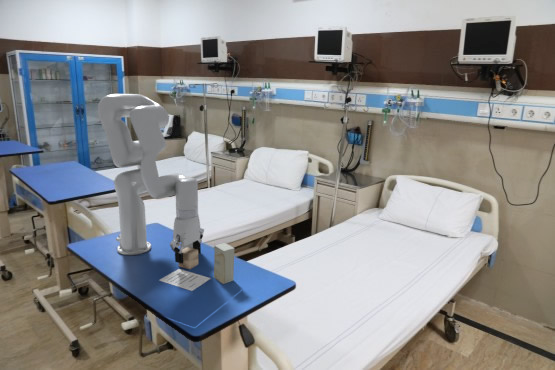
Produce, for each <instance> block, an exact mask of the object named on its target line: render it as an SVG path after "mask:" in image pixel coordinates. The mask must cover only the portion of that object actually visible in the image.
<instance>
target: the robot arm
mask: <svg viewBox="0 0 555 370" xmlns="http://www.w3.org/2000/svg"><path fill="white" fill-rule="evenodd" d="M97 106H98V107H97V113H98V114H97V115H98V118H99V121H100V123H101V126H102V128H103V131H104V133H105V136H106V140H107V141H106V142H107V144H108V149H109V151H110V152H109V153H110V156H111V159H112V162H113V165H114V166H116V167H117V168H118V169H125V168H131V167H137V169H132V170H126V171H123V172H121V173H118V174H117V175H116V176H115V178H114V181H113V185H114V190H115V192H116V197H117V204H118V205H117V206H118V215H119V216H118V217H119V229H120V232H119V233H120V234H119V235H118V236H117V237H115V241H117V242H119V245H118V246H117V252H118V254H121V255H125V256H135V255H140V254H144V253H147V252H148V251H150V250H151V248H152V244H151V242H149V241H147V240H148V239H147V221H146V220H147V219H146V206H145V202H144V200H143V199H142V198H141V195H140V194H144V193H148V194H149V196H150V197H151V198H153V199H155V200H162V199H165V198H169V197H171V196H172V197H173V196H175V212H176V213H175V215H176V217H175V218H174V222H173V233H172V236H173V237H172V240H171V242H170V243H169V246H170V249H171V250H172V251H173V252H174V262H175V263H177V264H179V263H181V264H182V263H183V253H182V250H183V248H184V246H187V245H189V244H191V243H193V249H197V250H198V255H200V254H201V252H202V249H201V246H202V244H201V243H202V240H203V237H204V232H205V228H202V227H201V221H200V217H199V200H198V199H199V198H198V197H199V192H198V191H199V189H198V188H199V187H198V185H199V184H198V179H196V178H195V177H193V176H192V177H190V176H185V175H182V174H180V173H170V174H165V175H161V176H160V175H159V171H158V167H157V162H156V160H157V157H158V155H159V154H160V153H162V152H163V151H164V150H165V149H166V147H167V141H166V139H165V137H164V134H163V132H162V130H161V129H163V128H165V127H167V125H168V124H169V119H170V118H169V114H168V111H167V110H166V108H164V106H162V105H161V104H159V103H157V102H156V101H154V100H152V99H150V98H149V97H147V96H146V95H143V94H138V93H135V94H134V93H111V94H107V95H105V96H103V97H102V98H101V99H100V101H99V102H98V105H97ZM122 118H129V120H130V123H131V126H132V128H133V130H134V132H135V136H136V138H137V140H133V139H132V135H131V131H130V128H129V127H128V126H127V124H126V122H124V120H122Z"/></svg>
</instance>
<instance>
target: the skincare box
mask: <svg viewBox="0 0 555 370" xmlns="http://www.w3.org/2000/svg"><path fill="white" fill-rule="evenodd" d="M213 252H214V256H213V257H214V259H213V266H214V267H213V278H214V279H216V281H218V282H220V283H221V284H223V285H224V284H227V283H230V282H233V281H234V274H235V273H234V271H235V268H234V267H235V247H233V246H231V245H230V244H229V243H226V242H225V241H224V242H221V243H217V244H214V251H213Z"/></svg>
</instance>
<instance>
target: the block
mask: <svg viewBox="0 0 555 370" xmlns="http://www.w3.org/2000/svg"><path fill="white" fill-rule="evenodd" d="M182 253H183V263H182V264H181V263H178V267H180V268H184V269H185V270H186V269H187V270H192V269H193V268H195V267H196V266H198V265H199V254H198V250H197V249H193V248H189V247H186V248H185V249H183V250H182Z"/></svg>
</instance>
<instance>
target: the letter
mask: <svg viewBox="0 0 555 370" xmlns="http://www.w3.org/2000/svg"><path fill="white" fill-rule="evenodd" d="M211 279H212V278H211V277H207V276H204V275H202V274H197V273H195V272H191V271H187V270H186V269H185V270H184V269H181V268H178V269H176V270H174V271H172V272H171V273H169V274H167V275H165V276H163V277H162V278H160V279H159V280H158V281H160V282H163V283H165V284H168V285H172V286H176V287H178V288H181V289H185V290H188V291H191V292H193V291H195V290H196V289H197V288H199V287H200V286H202V285H203V284H205V283H206V282H208V281H209V280H211Z"/></svg>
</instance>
